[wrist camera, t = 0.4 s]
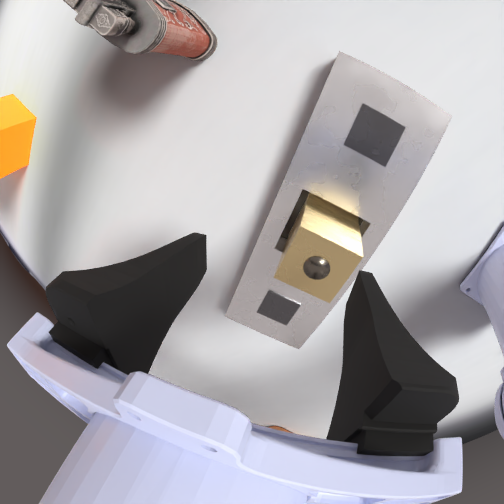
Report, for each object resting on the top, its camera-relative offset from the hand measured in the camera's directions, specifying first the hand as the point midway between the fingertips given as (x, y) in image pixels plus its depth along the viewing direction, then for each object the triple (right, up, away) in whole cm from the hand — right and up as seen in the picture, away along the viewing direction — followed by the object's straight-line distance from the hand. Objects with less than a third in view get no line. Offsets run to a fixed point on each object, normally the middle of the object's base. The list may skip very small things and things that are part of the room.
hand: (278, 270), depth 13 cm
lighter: (-7, +18, +3) cm, 19 cm away
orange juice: (-33, +18, +12) cm, 39 cm away
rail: (+4, +3, +8) cm, 10 cm away
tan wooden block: (+4, +3, +8) cm, 10 cm away
